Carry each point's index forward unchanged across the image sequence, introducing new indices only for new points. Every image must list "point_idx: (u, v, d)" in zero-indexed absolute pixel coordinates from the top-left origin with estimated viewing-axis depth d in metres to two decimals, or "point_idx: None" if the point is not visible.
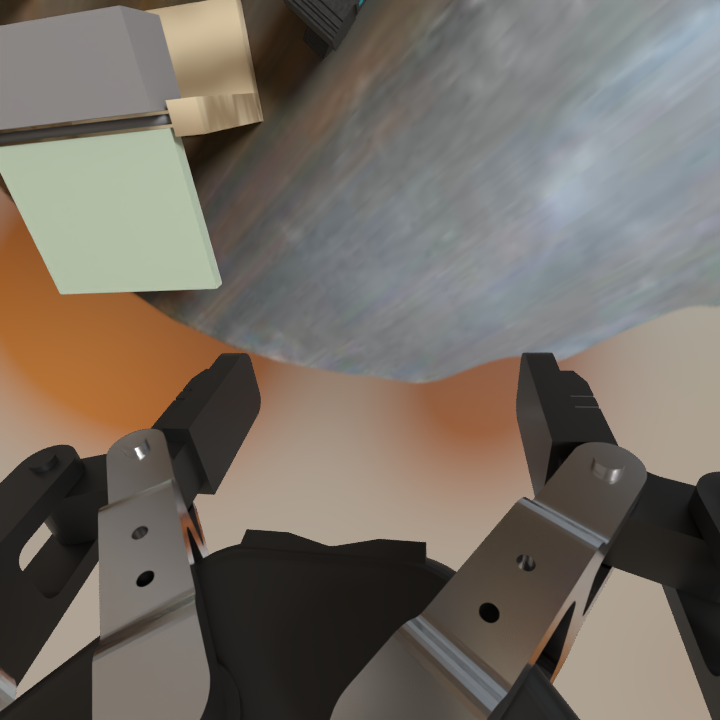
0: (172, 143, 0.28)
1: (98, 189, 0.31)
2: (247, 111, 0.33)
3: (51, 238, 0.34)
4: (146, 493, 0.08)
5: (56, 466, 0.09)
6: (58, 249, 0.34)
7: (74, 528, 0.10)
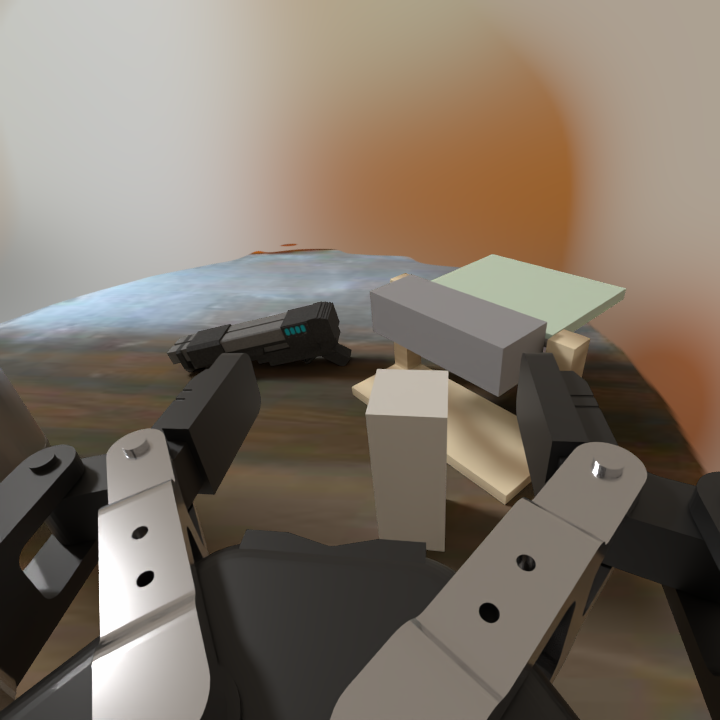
0: None
1: (499, 294, 0.39)
2: None
3: (578, 300, 0.37)
4: (146, 493, 0.08)
5: (56, 466, 0.09)
6: (582, 296, 0.37)
7: (74, 528, 0.10)
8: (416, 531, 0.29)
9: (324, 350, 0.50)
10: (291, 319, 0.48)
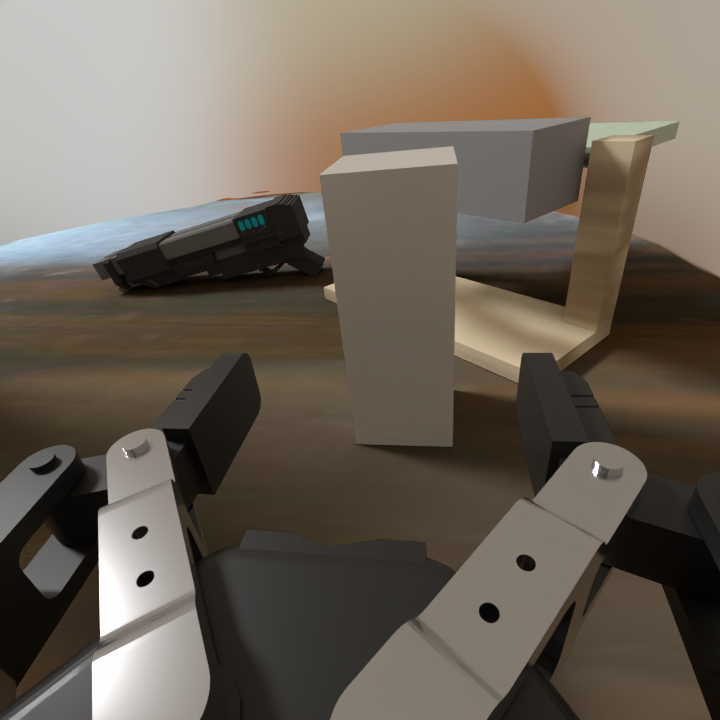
0: None
1: None
2: None
3: (620, 131, 0.27)
4: (146, 493, 0.08)
5: (56, 466, 0.09)
6: (623, 129, 0.28)
7: (74, 528, 0.10)
8: (409, 413, 0.19)
9: (290, 253, 0.40)
10: (247, 212, 0.38)
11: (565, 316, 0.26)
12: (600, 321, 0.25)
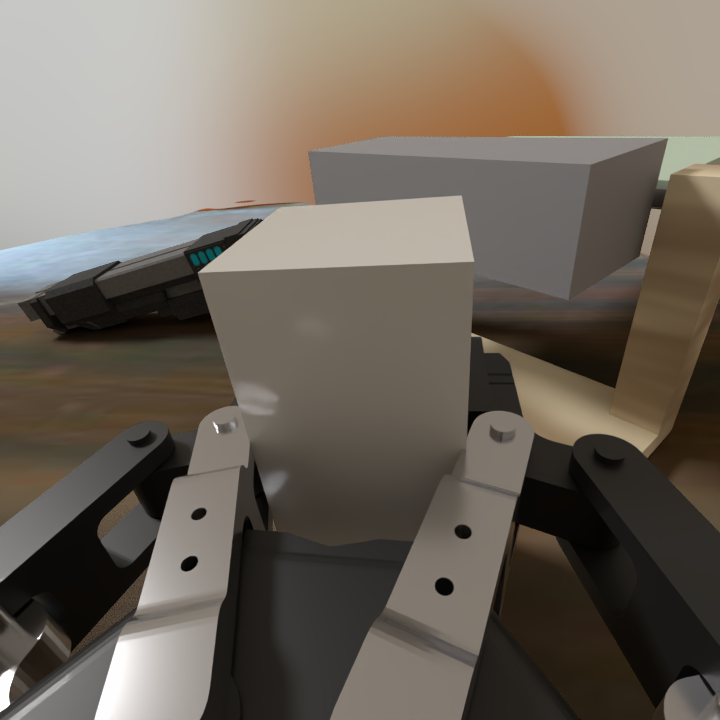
0: None
1: None
2: None
3: (687, 151, 0.20)
4: (215, 474, 0.08)
5: (152, 440, 0.10)
6: (690, 147, 0.20)
7: (156, 504, 0.10)
8: None
9: None
10: (203, 242, 0.31)
11: (612, 407, 0.19)
12: (665, 420, 0.18)
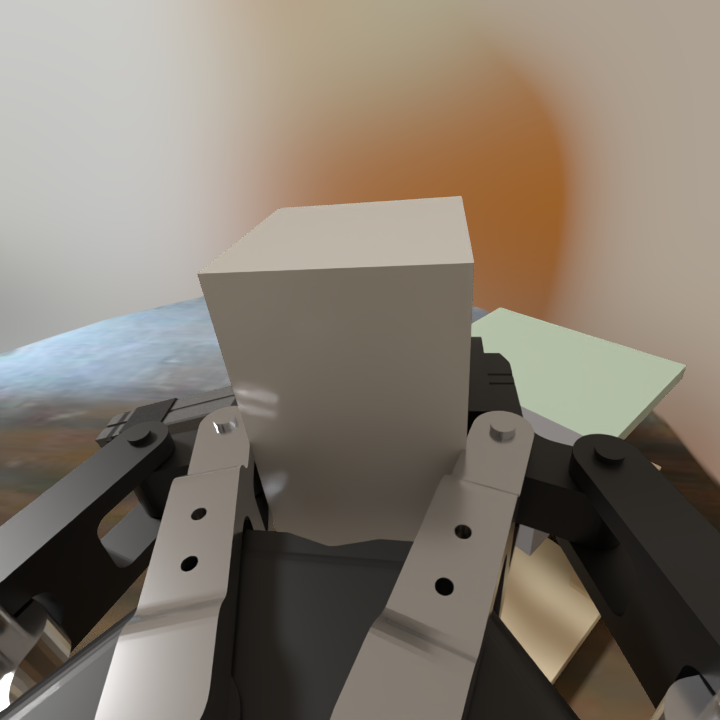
0: None
1: (515, 374, 0.29)
2: None
3: (626, 386, 0.27)
4: (215, 475, 0.08)
5: (152, 440, 0.10)
6: (629, 379, 0.27)
7: (156, 504, 0.10)
8: None
9: None
10: None
11: (571, 582, 0.26)
12: None
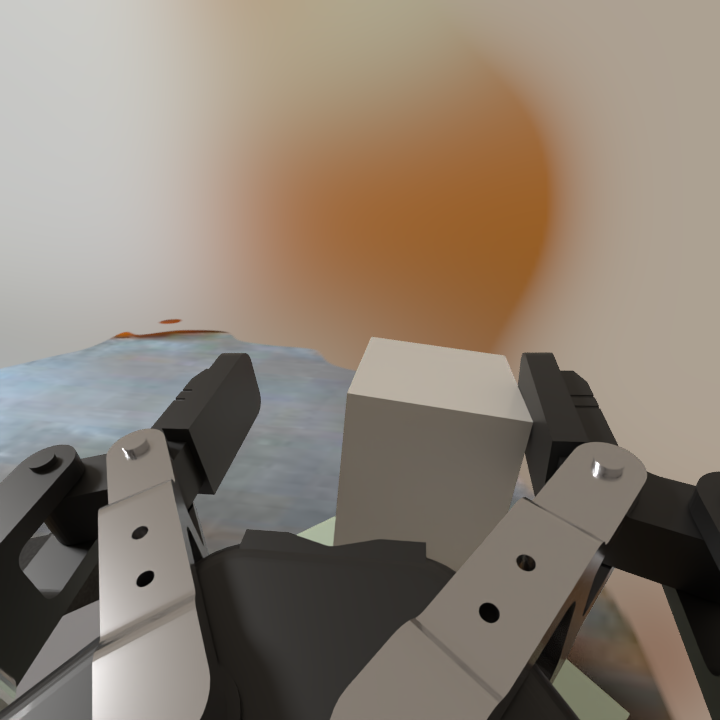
0: None
1: None
2: None
3: None
4: (146, 493, 0.08)
5: (56, 466, 0.09)
6: None
7: (74, 528, 0.10)
8: None
9: None
10: None
11: None
12: None
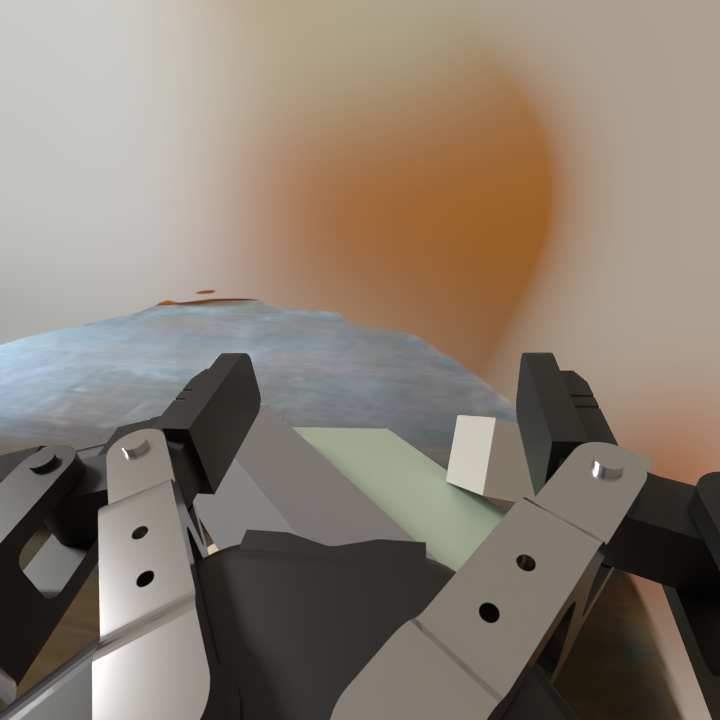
0: None
1: (376, 482, 0.25)
2: None
3: (483, 535, 0.24)
4: (146, 493, 0.08)
5: (56, 466, 0.09)
6: (488, 530, 0.25)
7: (74, 528, 0.10)
8: (515, 468, 0.26)
9: None
10: None
11: None
12: None
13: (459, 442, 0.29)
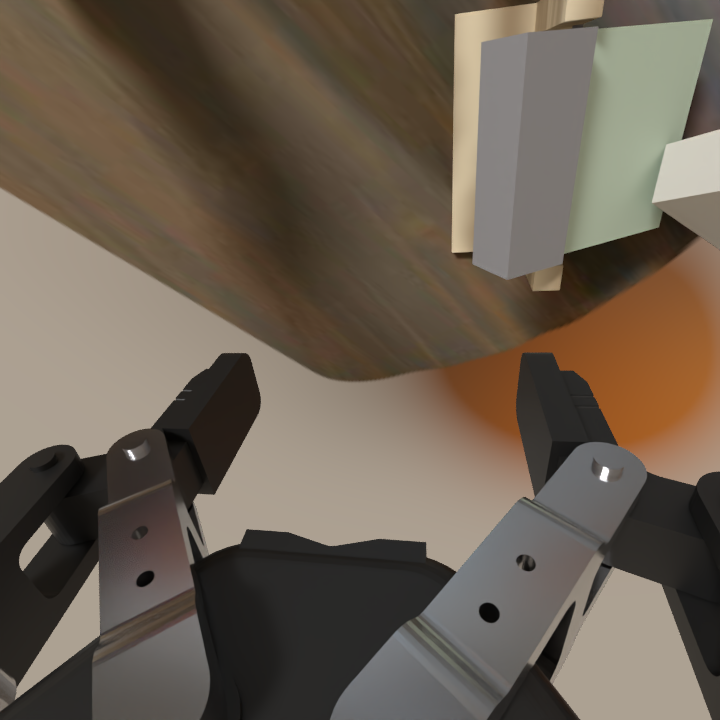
0: (600, 32, 0.27)
1: (607, 145, 0.31)
2: None
3: (623, 218, 0.35)
4: (146, 493, 0.08)
5: (56, 466, 0.09)
6: (631, 213, 0.35)
7: (74, 528, 0.10)
8: (692, 207, 0.32)
9: None
10: None
11: None
12: None
13: (704, 145, 0.31)
